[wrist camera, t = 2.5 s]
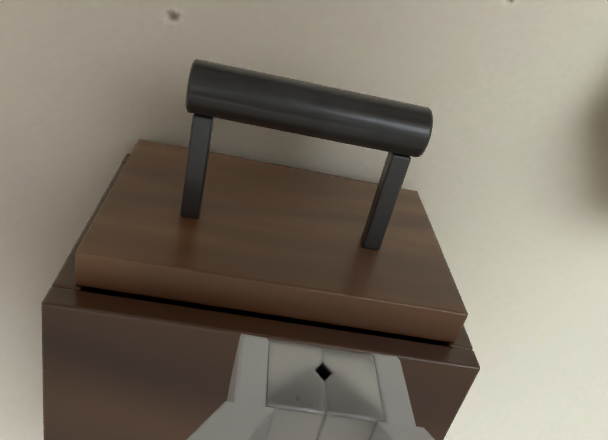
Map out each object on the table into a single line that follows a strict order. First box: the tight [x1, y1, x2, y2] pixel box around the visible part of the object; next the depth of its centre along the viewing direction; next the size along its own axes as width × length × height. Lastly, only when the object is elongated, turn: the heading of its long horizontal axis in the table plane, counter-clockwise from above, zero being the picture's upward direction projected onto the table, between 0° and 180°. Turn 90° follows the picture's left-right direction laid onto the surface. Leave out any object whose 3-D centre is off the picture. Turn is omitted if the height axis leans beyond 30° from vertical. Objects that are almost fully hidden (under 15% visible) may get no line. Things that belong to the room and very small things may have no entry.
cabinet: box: [42, 154, 480, 440], centre depth 24 cm, size 15×13×10 cm
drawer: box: [75, 59, 468, 343], centre depth 22 cm, size 18×11×8 cm, turn 168°
